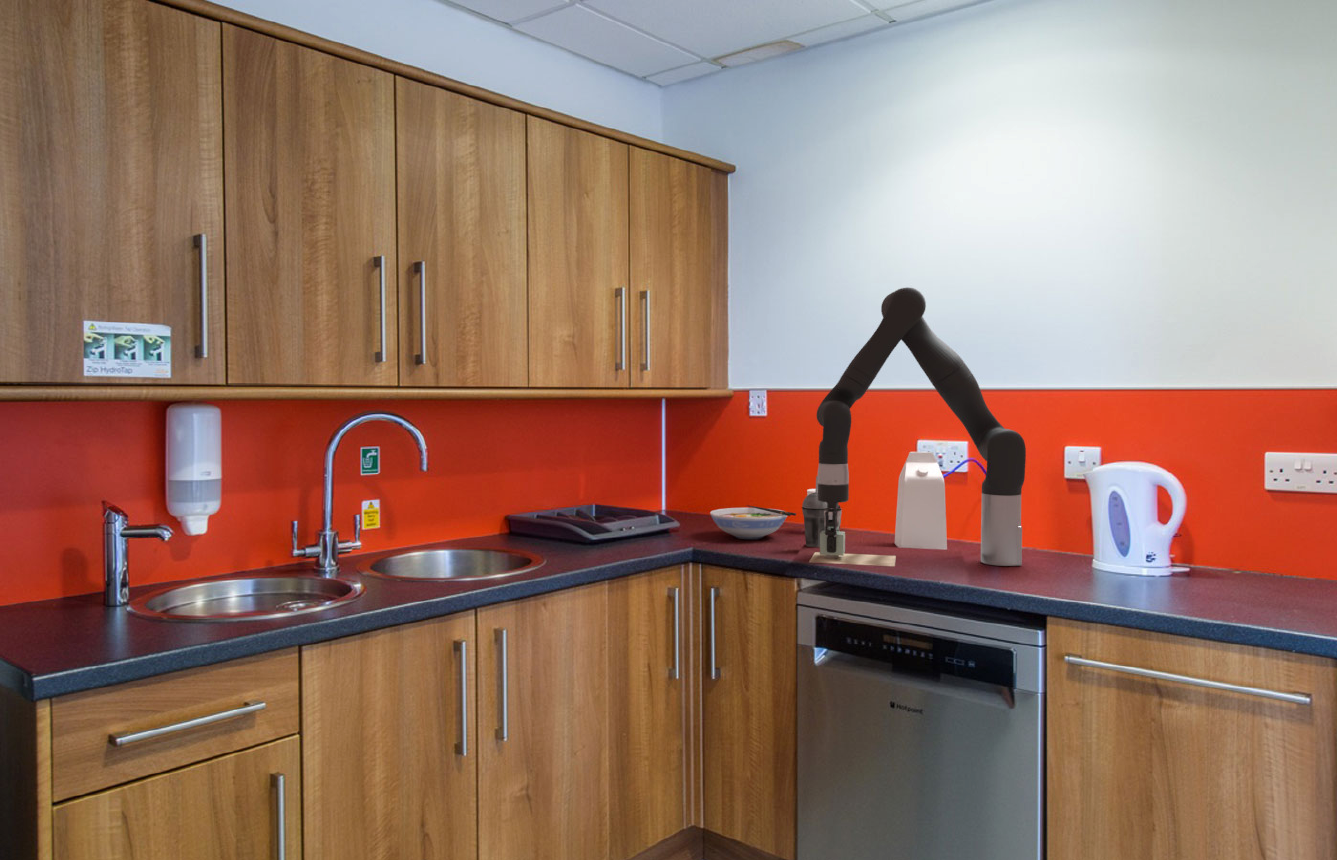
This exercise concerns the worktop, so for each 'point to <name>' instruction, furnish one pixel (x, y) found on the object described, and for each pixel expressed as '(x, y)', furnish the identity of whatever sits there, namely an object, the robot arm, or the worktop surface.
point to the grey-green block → (839, 544)
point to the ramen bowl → (749, 521)
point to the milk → (921, 504)
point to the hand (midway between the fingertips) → (832, 549)
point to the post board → (854, 559)
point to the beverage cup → (813, 518)
